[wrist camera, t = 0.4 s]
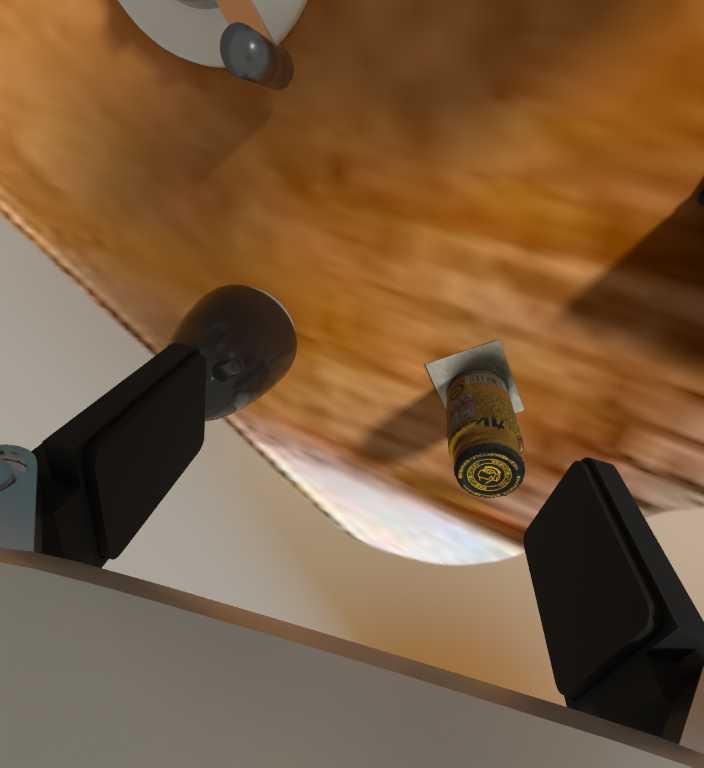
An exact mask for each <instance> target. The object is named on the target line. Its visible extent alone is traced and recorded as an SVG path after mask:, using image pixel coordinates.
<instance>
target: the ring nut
mask: <svg viewBox="0 0 704 768" xmlns="http://www.w3.org/2000/svg"><path fill="white" fill-rule="evenodd" d="M177 1H178V2H180V3H182V4H184V5H187V6H189V7H193V8H198V9H213V8H220V10H221V12H222V13H223V15H224V17H225V19H226V20H227V22H228V24H229V26H227V27H226V29H225V30H224V32H223V34H222V36H221V40H220V54H221V58H222V61H223V63H224V65H225V67H226V68H227V70H228V71H229V72H230V73H231V74H233V75H234V76H236V77H239V78H242V79H244V80H247V81H250V82H253V83H256V84H259V85H262V86H265V87H268V88H271V89H274V90H282V89H284V88H286V87H287V86H288V85H289V84H290V82H291V80H292V77H293V72H294V67H293V61H292V58H291V56H290V55H289V53H288V52H287V51H286V50H285V49H284V48H283V47H281V46H279V45H278V44H276V43H275V42H274V40H273V38H272V36H271V35H270V33H269V31H268V29H267V27H266V25H265V23H264V21H263V20H262V18H261V16H260V14H259V12H258V10H257V8H256V6H255V4H254V3H253V1H252V0H177Z"/></svg>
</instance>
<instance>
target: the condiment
mask: <svg viewBox="0 0 704 768" xmlns="http://www.w3.org/2000/svg"><path fill="white" fill-rule="evenodd" d="M426 367H427V370H428V372H429V374H430V376H431V378H432V381H433V383H434V385H435V387H436V390H437V392H438V394H439V396H440V398H441V400H442V402H443V405H444V407H445V409H446V416H447V427H448V428H447V431H448V433H447V438H448V448H449V455H450V458H451V460H452V462H453V464H454V473H455V474H454V475H455V476H456V478H457V481H458V482H459V484H460V486H461V487H462V488H463V489H465V490H466V491H468V492H469V493H470V494H472V495H475V496H479V497H485V498H495V497H500V496H506V495H507V494H508V493H510V492H513V491H514V490H515V489H516V488H517V487H518V486H519V485H520V484H521V483H522V481H523V478H524V474H525V467H524V462H523V451H524V445H523V439H522V436H521V432H520V429H519V426H518V422H517V419H516V416H515V413H517V412H520V411H524V408H523V405H522V402H521V399H520V397H519V394H518V391H517V388H516V385H515V383H514V380H513V377H512V374H511V371H510V369H509V366H508V363H507V360H506V357H505V355H504V352H503V349H502V346H501V343H500V341H499V340H497V341H494V342H491V343H487V344H484V345H481V346H478V347H475V348H471V349H468V350H465V351H463V352H460V353H457V354H453V355H451V356H449V357H446V358H443V359H439V360H437V361H434V362H432V363H429V364H426ZM453 372H454V375H452V373H453ZM452 376H453V378H451V377H452Z"/></svg>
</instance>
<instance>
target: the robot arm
mask: <svg viewBox="0 0 704 768" xmlns="http://www.w3.org/2000/svg"><path fill="white" fill-rule="evenodd" d="M205 390H206V358H205V356H203V355H201V353H200V350H199V349H198V348H196V347H192V346H188V345H185V344H181V343H178V342H174V343H172V344H171V345H169V346H168V347H167V348H165V349H164V350H163V351H161V352H160V353H159V354H157V355H156V356H155V357H153V358H152V359H151V360H150V361H148V362H147V363H146V364H144V365H143V366H142V367H140V368H139V369H138V370H136V371H135V372H134V373H132V374H131V375H130V376H128V377H127V378H126V379H124V380H123V381H122V382H120V383H119V384H118V385H116V386H115V387H114V388H113V389H111V390H110V391H109V392H107V393H106V394H105V395H104V396H102V397H101V398H99V399H98V400H97V401H95V402H94V403H93V404H91V405H90V406H89V407H87V408H86V409H85V410H84V411H82V412H81V413H79V414H78V415H77V416H76V417H74V418H73V419H72V420H70V421H69V422H68V423H66V424H65V425H64V426H63V427H61V428H60V429H59V430H57V431H56V432H54V433H53V434H52V435H50V436H49V437H48V438H46V440H44V441H43V442H42V444H40V445H39V446H38V447H37V448H35V449H34V450H33V451H29V450H28V449H25V448H22V447H20V446H13V445H0V768H704V621H703V620H702V618H701V616H700V614H699V613H698V611H697V609H696V608H695V606H694V604H693V602H692V600H691V599H690V597H689V595H688V593H687V592H686V590H685V588H684V586H683V585H682V583H681V581H680V579H679V578H678V576H677V574H676V572H675V571H674V569H673V567H672V565H671V564H670V562H669V560H668V558H667V557H666V555H665V553H664V551H663V550H662V548H661V546H660V544H659V543H658V541H657V539H656V537H655V536H654V534H653V532H652V530H651V529H650V527H649V525H648V523H647V522H646V520H645V518H644V516H643V515H642V513H641V511H640V509H639V508H638V506H637V504H636V502H635V501H634V499H633V497H632V495H631V494H630V492H629V490H628V488H627V487H626V485H625V483H624V481H623V480H622V478H621V476H620V474H619V473H618V471H617V469H616V468H615V467H614V465H612V464H610V463H606V462H603V461H599V460H595V459H592V458H584V459H582V460H581V461H575V462H574V463H573V464H572V465H571V466H570V468H569V469H568V471H567V472H566V473H565V475H564V476H563V478H562V479H561V481H560V482H559V484H558V485H557V486H556V488H555V489H554V491H553V492H552V494H551V495H550V497H549V498H548V499H547V501H546V502H545V504H544V505H543V507H542V508H541V510H540V511H539V512H538V514H537V515H536V517H535V518H534V520H533V521H532V523H531V524H530V525H529V527H528V528H527V530H526V532H525V535H524V548H525V553H526V557H527V561H528V566H529V570H530V574H531V579H532V583H533V587H534V591H535V596H536V600H537V605H538V609H539V613H540V617H541V622H542V626H543V631H544V635H545V639H546V644H547V648H548V653H549V656H550V661H551V665H552V670H553V674H554V679H555V683H556V686H557V689H558V691H559V692H560V693H561V694H562V695H564V697H565V701H566V705H567V707H564V706H561V705H558V704H555V703H551V702H548V701H545V700H541V699H538V698H535V697H532V696H529V695H525V694H522V693H519V692H516V691H512V690H509V689H506V688H502V687H499V686H496V685H493V684H489V683H486V682H483V681H479V680H477V679H473V678H470V677H467V676H463V675H460V674H457V673H454V672H450V671H447V670H444V669H441V668H437V667H434V666H430V665H427V664H424V663H421V662H417V661H414V660H411V659H408V658H404V657H401V656H398V655H394V654H391V653H388V652H384V651H381V650H378V649H374V648H371V647H368V646H365V645H361V644H358V643H355V642H351V641H348V640H345V639H341V638H338V637H335V636H331V635H328V634H324V633H321V632H318V631H315V630H311V629H308V628H305V627H301V626H298V625H294V624H291V623H288V622H285V621H281V620H278V619H275V618H271V617H268V616H264V615H261V614H257V613H254V612H251V611H247V610H244V609H240V608H237V607H234V606H231V605H227V604H223V603H220V602H217V601H214V600H210V599H207V598H204V597H200V596H197V595H193V594H190V593H187V592H183V591H180V590H176V589H173V588H170V587H166V586H163V585H159V584H156V583H152V582H149V581H145V580H142V579H138V578H134V577H131V576H127V575H124V574H120V573H116V572H112V571H109V570H105V569H102V567H103V565H104V564H105V563H106V561H107V560H108V559H115V558H117V557H118V556H119V555H120V554H121V553H122V551H123V550H124V549H125V548H126V546H127V545H128V544H129V542H130V541H131V540H132V538H133V537H134V536H135V535H136V533H137V532H138V531H139V529H140V528H141V527H142V525H143V524H144V523H145V521H146V520H147V519H148V517H149V516H150V515H151V514H152V512H153V511H154V510H155V508H156V507H157V506H158V504H159V503H160V502H161V500H162V499H163V498H164V497H165V495H166V494H167V493H168V491H169V490H170V489H171V487H172V486H173V485H174V483H175V482H176V481H177V480H178V478H179V477H180V476H181V474H182V473H183V472H184V470H185V469H186V468H187V467H188V465H189V464H190V462H191V461H192V460H193V459H194V457H195V456H196V455H197V453H198V452H199V451H200V449H201V447H202V445H203V441H204V428H205V427H204V426H205Z"/></svg>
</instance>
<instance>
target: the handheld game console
mask: <svg viewBox="0 0 704 768" xmlns="http://www.w3.org/2000/svg"><path fill="white" fill-rule="evenodd" d="M698 202H699V203H700V204H701V205H703V206H704V191H703V192H701V194H700V196H699V200H698Z"/></svg>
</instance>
